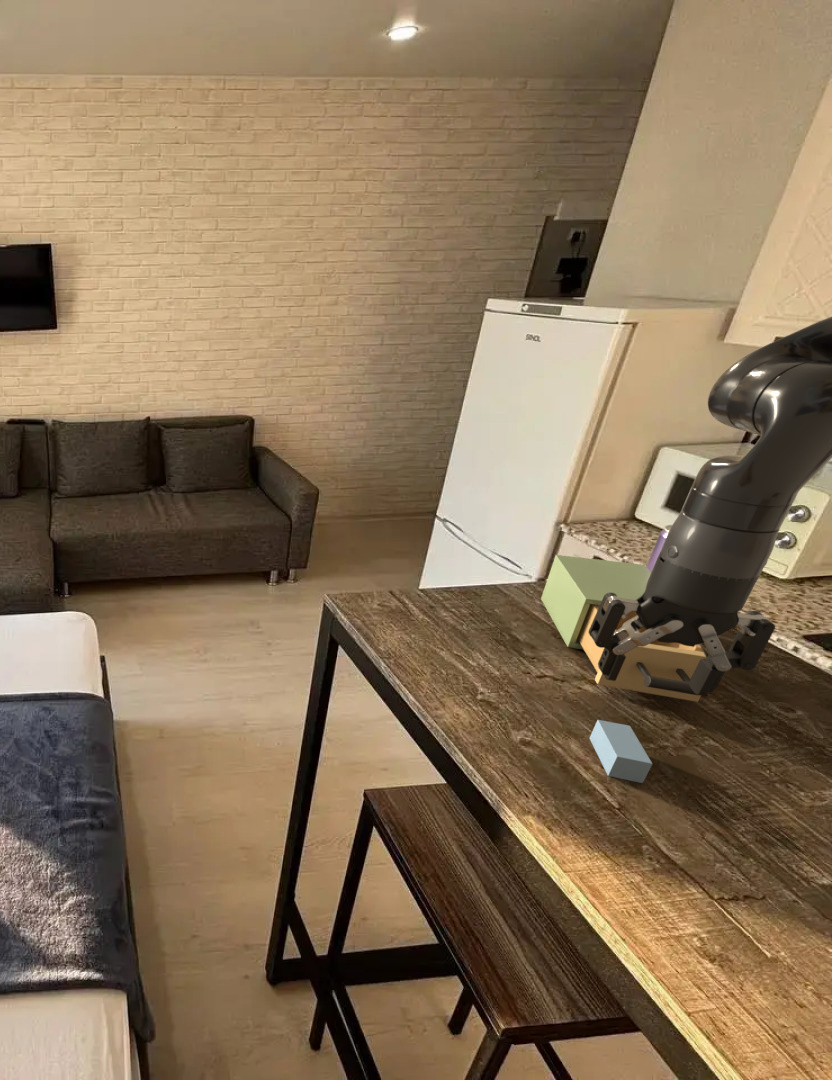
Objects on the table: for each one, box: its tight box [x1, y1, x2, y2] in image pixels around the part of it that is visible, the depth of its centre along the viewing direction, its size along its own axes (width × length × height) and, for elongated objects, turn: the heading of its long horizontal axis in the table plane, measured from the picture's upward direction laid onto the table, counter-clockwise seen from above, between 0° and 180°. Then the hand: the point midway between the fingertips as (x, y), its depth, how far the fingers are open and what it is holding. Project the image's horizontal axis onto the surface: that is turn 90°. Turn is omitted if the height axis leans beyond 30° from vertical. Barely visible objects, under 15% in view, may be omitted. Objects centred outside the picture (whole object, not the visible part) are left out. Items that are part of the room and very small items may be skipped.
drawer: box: [577, 604, 707, 703], centre depth 83 cm, size 19×11×7 cm, turn 159°
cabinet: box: [540, 554, 651, 651], centre depth 95 cm, size 16×13×9 cm
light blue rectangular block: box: [589, 719, 653, 784], centre depth 71 cm, size 3×6×3 cm, turn 159°
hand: (650, 683), depth 66 cm, fingers open, 8 cm apart
